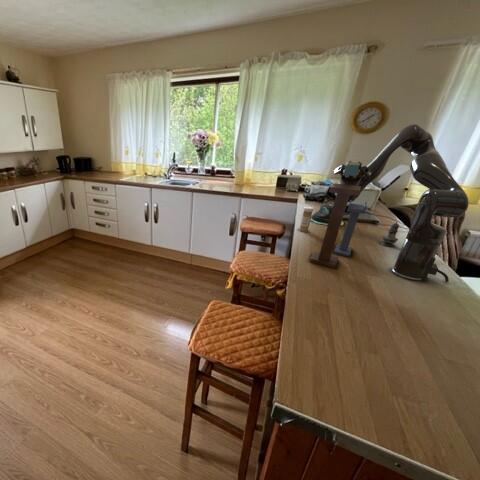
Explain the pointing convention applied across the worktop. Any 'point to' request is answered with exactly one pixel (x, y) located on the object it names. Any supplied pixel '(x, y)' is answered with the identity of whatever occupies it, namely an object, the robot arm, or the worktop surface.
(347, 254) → the blue grey stand
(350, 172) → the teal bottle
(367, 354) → the worktop surface
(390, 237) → the dark grey figurine
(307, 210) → the sprinkles bottle
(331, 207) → the dark green shoe
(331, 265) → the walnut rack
